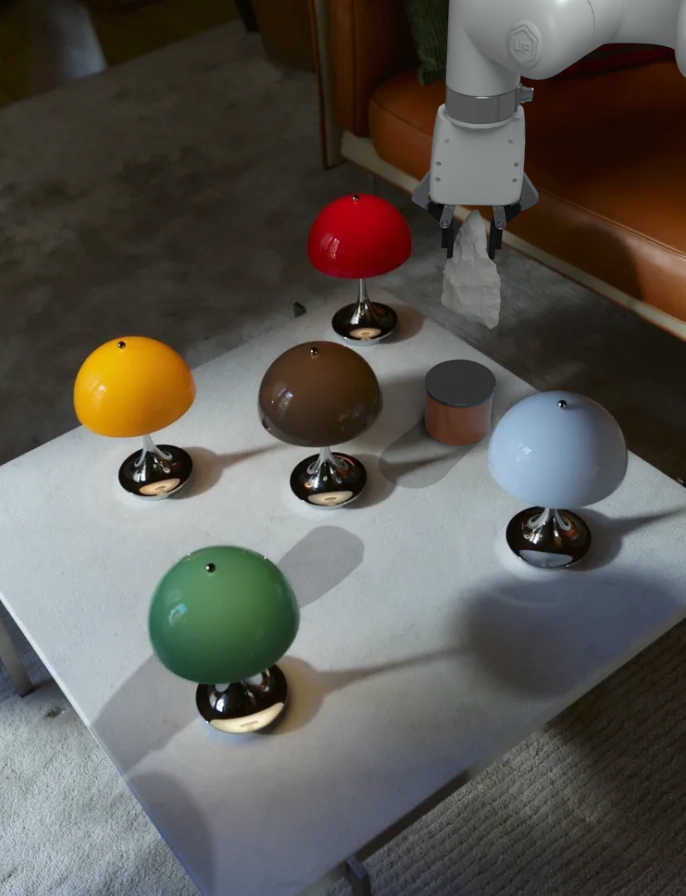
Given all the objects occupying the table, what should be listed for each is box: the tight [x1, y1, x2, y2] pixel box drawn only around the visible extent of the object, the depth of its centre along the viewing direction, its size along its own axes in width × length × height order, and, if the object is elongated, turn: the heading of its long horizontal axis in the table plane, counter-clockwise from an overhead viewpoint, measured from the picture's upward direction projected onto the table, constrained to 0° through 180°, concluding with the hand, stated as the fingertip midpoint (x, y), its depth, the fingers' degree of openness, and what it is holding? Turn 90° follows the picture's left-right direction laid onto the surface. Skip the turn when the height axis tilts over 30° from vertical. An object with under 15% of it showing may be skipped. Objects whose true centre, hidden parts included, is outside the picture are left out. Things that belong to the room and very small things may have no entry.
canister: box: [424, 358, 497, 447], centre depth 130 cm, size 10×10×8 cm
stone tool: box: [440, 209, 502, 330], centre depth 113 cm, size 8×3×15 cm, turn 50°
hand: (470, 251), depth 112 cm, fingers closed on stone tool, 4 cm apart
